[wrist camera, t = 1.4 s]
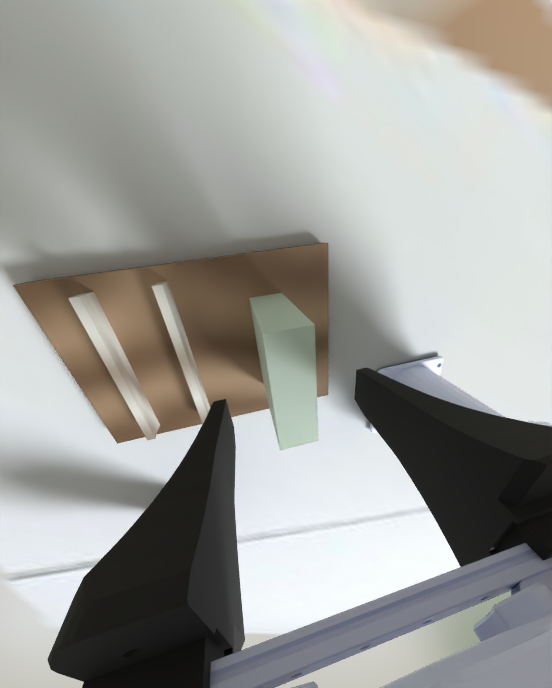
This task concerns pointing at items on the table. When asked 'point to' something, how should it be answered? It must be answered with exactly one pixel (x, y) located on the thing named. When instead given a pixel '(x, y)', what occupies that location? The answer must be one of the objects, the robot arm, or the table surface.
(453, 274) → the table surface
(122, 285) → the track base
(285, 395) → the door panel
